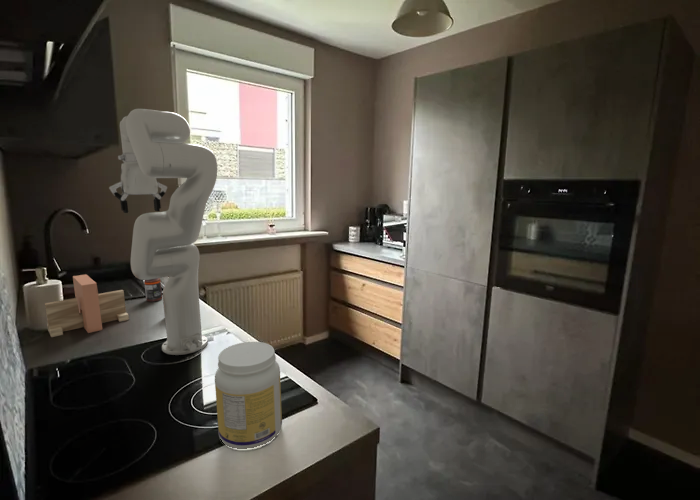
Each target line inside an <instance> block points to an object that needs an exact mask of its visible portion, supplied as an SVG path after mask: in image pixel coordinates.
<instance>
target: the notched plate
mask: <svg viewBox="0 0 700 500" xmlns="http://www.w3.org/2000/svg"><path fill="white" fill-rule="evenodd" d="M72 281H73V289H74V295H75V297H74V298H77V302H78V309H79V313H82V315H83V323H84V327H83V329H84V330H85V331H86V332H87V333H88V334H89V333H90V334H91V333H94V332H98V331H103V323H102V322H101V314H100V306H99V298H98V294H99V291H98V285H97V284H98V283H97V282H96V281H95V280H93V279H92V278H91V277H90V276H89V275H88V274H80V275H73V276H72Z"/></svg>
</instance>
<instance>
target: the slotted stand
mask: <svg viewBox="0 0 700 500" xmlns="http://www.w3.org/2000/svg"><path fill="white" fill-rule="evenodd" d="M124 291H125V290H123V289H119V290H113V291H107V292H103V293H102V292H101V293H98V298H99V306H100V314H101V322H102V324H103V323H109V322H114V321H118V323H121V322H126V321H128V320H130V318H129V317H130V315H129V313H128V312H127V309H126V301H125V300H126V299H125V292H124ZM44 308H45V313H46V321H47V324H46V326H47V331H48V334H49V335H50V337H51V338H54V337H59V336H63V335H64V332H67V331H72V330H76V329H81V328H84V323H83V315H82V313H79V309H78V302H77V298H76V297H74V298H73V297H72V298H68V299H62V300H61V299H60V300H57V301H56V300H55V301H51V302H45V303H44Z"/></svg>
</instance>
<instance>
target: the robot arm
mask: <svg viewBox="0 0 700 500" xmlns="http://www.w3.org/2000/svg"><path fill="white" fill-rule="evenodd" d="M119 130H120V139H121V148H122V154H121V155H118V156H117V159H118V161H119V160H120V161H122V162H123V163H121V168H120V181H119V182H116V183H114V184H113V185H110V186H109V187H108V189H109V190H110V192H111V193H112V195H113V196H114V197H115V198H116V199H118V200H119V201H120V210H121V211H123V213H124V214H128V213H129V208H128V207H129V206H128V200H127V198H128V197H129V195H130V196H131V195H138V196H139V195H151V196H152V197H154V199H153V207H154V208H153V209H154V211H155V212H146V213H142V214H141V215H139V216H138V217H137V218H136V219H135V222H134V224H133V230H132V242H131V252H130V270H131V272H132V274H133V276H135V278H136V279H138V280H141V281H144V280H150V279H156V278H160V279H161V278H167V277H168V278H167V280H166V282H165V284H164V286H163V290H162V302H163V301H164V305H163V312H164V311H165V315H164V320H165V330H166V331H165V332H166V341H164V342H163V343H162V345H161V351H162V352H163V353H164V354H166V355H170V356H171V355H172V356H174V355H175V356H179V355H180V356H181V355H188V354H192V353H196V352H198V351H200V349H201V350H203V349H204V348H205V347H206V346H207V345H208V341H209V340H208V339H209V338H208V337H206V335H203V332H202V322H201V320H202V319H201V309H200V307H201V306H200V293H199V290H200V289H199V267H200V260H201V259H200V251H199V248H198V247H197V245H196V244H195V243H196V242H197V240H198V238H199V236H200V233H201V229H202V225H203V218H204V214H205V209H206V206H207V203H208V201H209V199H210V196H211V195H212V193H213V190H214V188H215V185H216V182H217V177H218V161H217V157H216V156H215V154H214V152H213V151H212V150H211V149H210V148H208V147H206V146H203V145H199V144H194V143H193V144H192V143H185V142H186V141H187V140H188V139H189V138H190V135H191V128H190V124H189V122H188V121H187V120H186V119H185V118H184V117H183V116H182V115H180V114H179V113H176V112H172V111H163V110H157V109H156V110H155V109H147V108H135V109H132V110H130V112H129V113H128V115H126V116H124V117H123V118H122V119H121V120H120V121H119ZM157 179H186V180H185V181H183V182H182V183H181V184H180V185H179V186H177V188H176V189H175V190H174V192H173V193H172V195H171V196H170V198H169V206H168V209H167V210H165V211H161V210H160V209H161V208H162V205H161V199H162V198H163V197H164V195H166V192H167V189H168V186H167V185H165V184H162V183H160V182H159V181H157ZM118 188H121V192H122V193H121V194H120V193H119V192H118V191H117V189H118ZM159 188H160V191H159Z"/></svg>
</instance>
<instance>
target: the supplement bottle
mask: <svg viewBox="0 0 700 500" xmlns="http://www.w3.org/2000/svg"><path fill="white" fill-rule="evenodd" d="M143 281H144V291H145V299H146V301H147V302H151V303H153V302H158V301H161V300H163V290H162V282H161V278H156V279H150V280H143Z"/></svg>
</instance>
